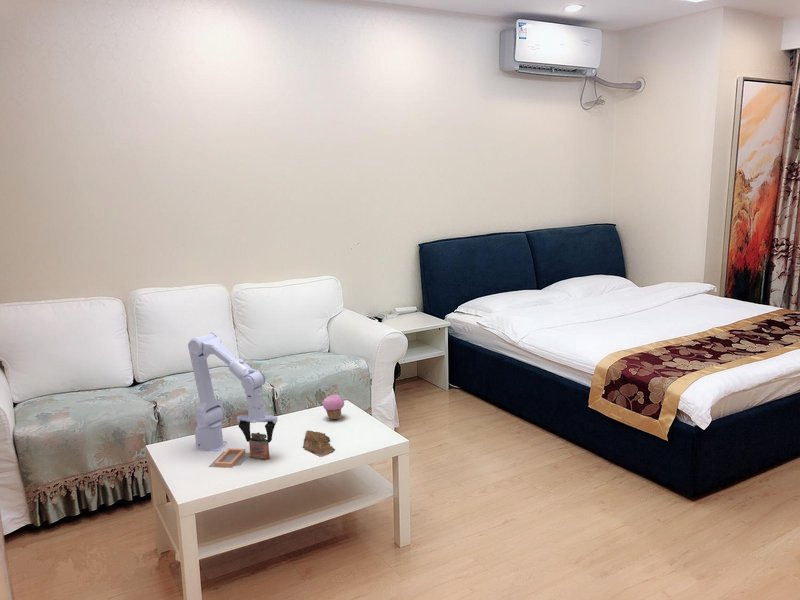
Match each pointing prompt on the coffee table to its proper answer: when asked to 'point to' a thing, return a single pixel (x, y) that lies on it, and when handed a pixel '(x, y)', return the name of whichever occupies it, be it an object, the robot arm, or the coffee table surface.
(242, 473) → the coffee table surface
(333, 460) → the coffee table surface
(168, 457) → the coffee table surface
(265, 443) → the lighter
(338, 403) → the cupcake
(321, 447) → the wooden fragment
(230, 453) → the holder
